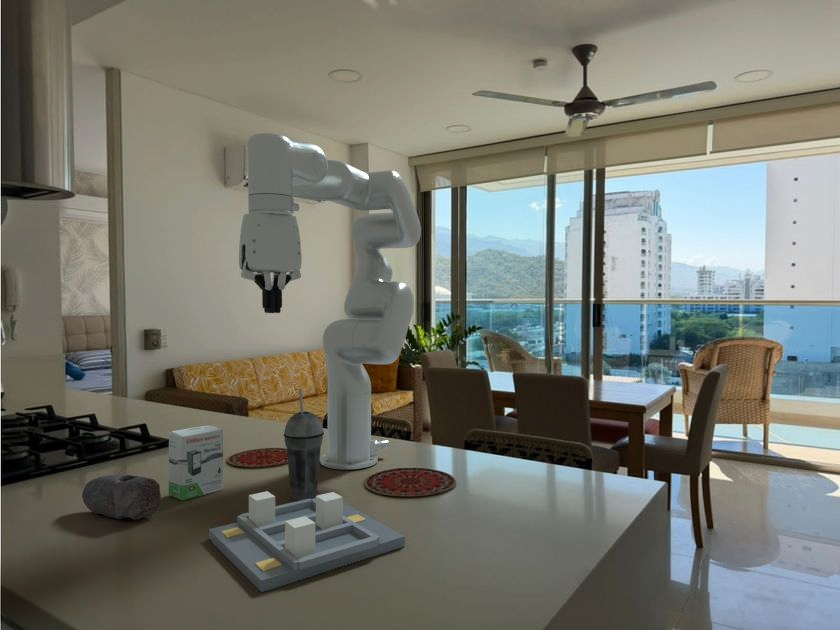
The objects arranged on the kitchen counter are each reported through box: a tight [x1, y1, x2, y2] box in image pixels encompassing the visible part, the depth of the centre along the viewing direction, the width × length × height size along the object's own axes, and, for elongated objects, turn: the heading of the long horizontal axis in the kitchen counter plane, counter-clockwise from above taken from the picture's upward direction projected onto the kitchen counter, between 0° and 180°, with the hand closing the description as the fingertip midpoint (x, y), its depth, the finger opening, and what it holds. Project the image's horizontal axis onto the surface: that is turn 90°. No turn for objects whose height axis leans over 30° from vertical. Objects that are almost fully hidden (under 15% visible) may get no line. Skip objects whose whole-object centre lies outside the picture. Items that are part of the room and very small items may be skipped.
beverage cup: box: [283, 388, 325, 501], centre depth 106 cm, size 7×7×20 cm
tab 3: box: [315, 491, 344, 529], centre depth 89 cm, size 3×3×4 cm
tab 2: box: [285, 516, 315, 559], centre depth 79 cm, size 3×3×4 cm
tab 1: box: [248, 490, 276, 527], centre depth 89 cm, size 3×3×4 cm
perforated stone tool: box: [81, 474, 162, 521], centre depth 97 cm, size 15×5×7 cm, turn 69°
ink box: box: [168, 425, 224, 501], centre depth 108 cm, size 9×5×12 cm, turn 140°
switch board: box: [208, 498, 406, 593], centre depth 87 cm, size 22×21×2 cm
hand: (272, 312), depth 102 cm, fingers closed
